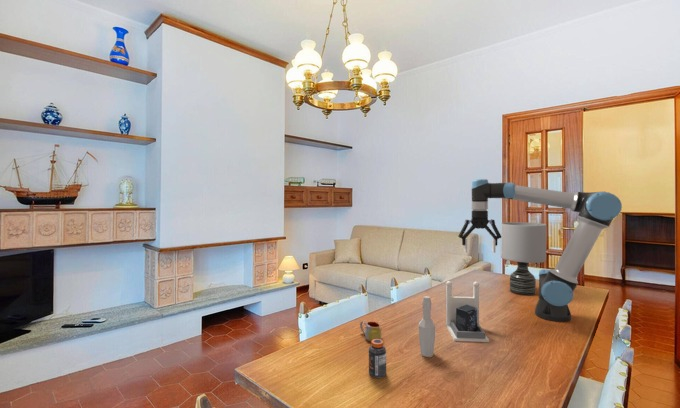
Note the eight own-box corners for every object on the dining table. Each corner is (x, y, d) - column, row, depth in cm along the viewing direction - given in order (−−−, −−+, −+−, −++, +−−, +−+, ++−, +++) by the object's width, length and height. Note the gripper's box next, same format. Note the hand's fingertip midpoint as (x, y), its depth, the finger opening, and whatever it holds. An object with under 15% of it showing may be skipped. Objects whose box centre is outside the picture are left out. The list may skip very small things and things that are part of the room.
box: (466, 336, 138) (467, 311, 137) (455, 331, 142) (455, 307, 142) (477, 331, 142) (477, 307, 142) (466, 327, 147) (466, 304, 147)
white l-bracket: (478, 326, 150) (478, 280, 149) (489, 342, 134) (490, 290, 134) (445, 325, 151) (445, 280, 151) (453, 340, 136) (453, 290, 135)
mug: (385, 340, 137) (385, 324, 137) (372, 344, 133) (372, 328, 133) (367, 330, 147) (367, 316, 147) (355, 334, 143) (355, 319, 143)
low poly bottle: (432, 359, 120) (432, 300, 120) (416, 355, 124) (415, 298, 123) (437, 352, 126) (437, 296, 125) (421, 348, 129) (421, 293, 128)
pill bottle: (367, 369, 114) (367, 337, 114) (384, 368, 115) (384, 336, 114) (370, 379, 108) (370, 345, 108) (388, 378, 109) (387, 344, 108)
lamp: (554, 298, 189) (555, 225, 188) (513, 298, 190) (513, 225, 188) (531, 286, 213) (531, 222, 212) (494, 286, 214) (494, 222, 212)
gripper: (502, 209, 167) (502, 250, 167) (452, 209, 169) (452, 250, 170) (508, 210, 159) (508, 253, 160) (456, 210, 162) (456, 253, 162)
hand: (479, 252), depth 165 cm, fingers open, 13 cm apart
